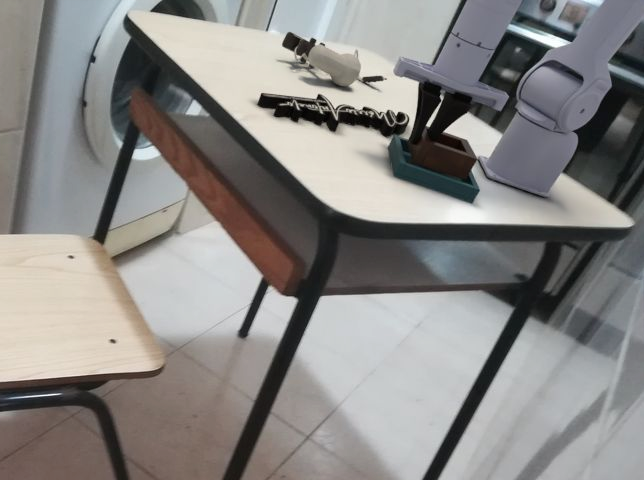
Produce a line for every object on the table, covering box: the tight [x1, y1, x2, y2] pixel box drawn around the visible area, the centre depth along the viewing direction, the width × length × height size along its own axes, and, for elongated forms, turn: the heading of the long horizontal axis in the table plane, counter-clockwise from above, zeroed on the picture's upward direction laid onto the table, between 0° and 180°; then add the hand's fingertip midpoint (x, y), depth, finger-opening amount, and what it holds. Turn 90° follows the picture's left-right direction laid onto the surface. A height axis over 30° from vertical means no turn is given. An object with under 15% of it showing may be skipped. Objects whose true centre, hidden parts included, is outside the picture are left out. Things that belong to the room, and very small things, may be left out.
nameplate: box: [257, 92, 410, 138], centre depth 100 cm, size 28×2×10 cm
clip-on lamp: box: [281, 31, 388, 87], centre depth 115 cm, size 12×6×18 cm
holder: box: [387, 134, 481, 204], centre depth 92 cm, size 11×11×2 cm
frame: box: [407, 125, 478, 179], centre depth 90 cm, size 8×7×3 cm
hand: (418, 143), depth 90 cm, fingers closed on frame
